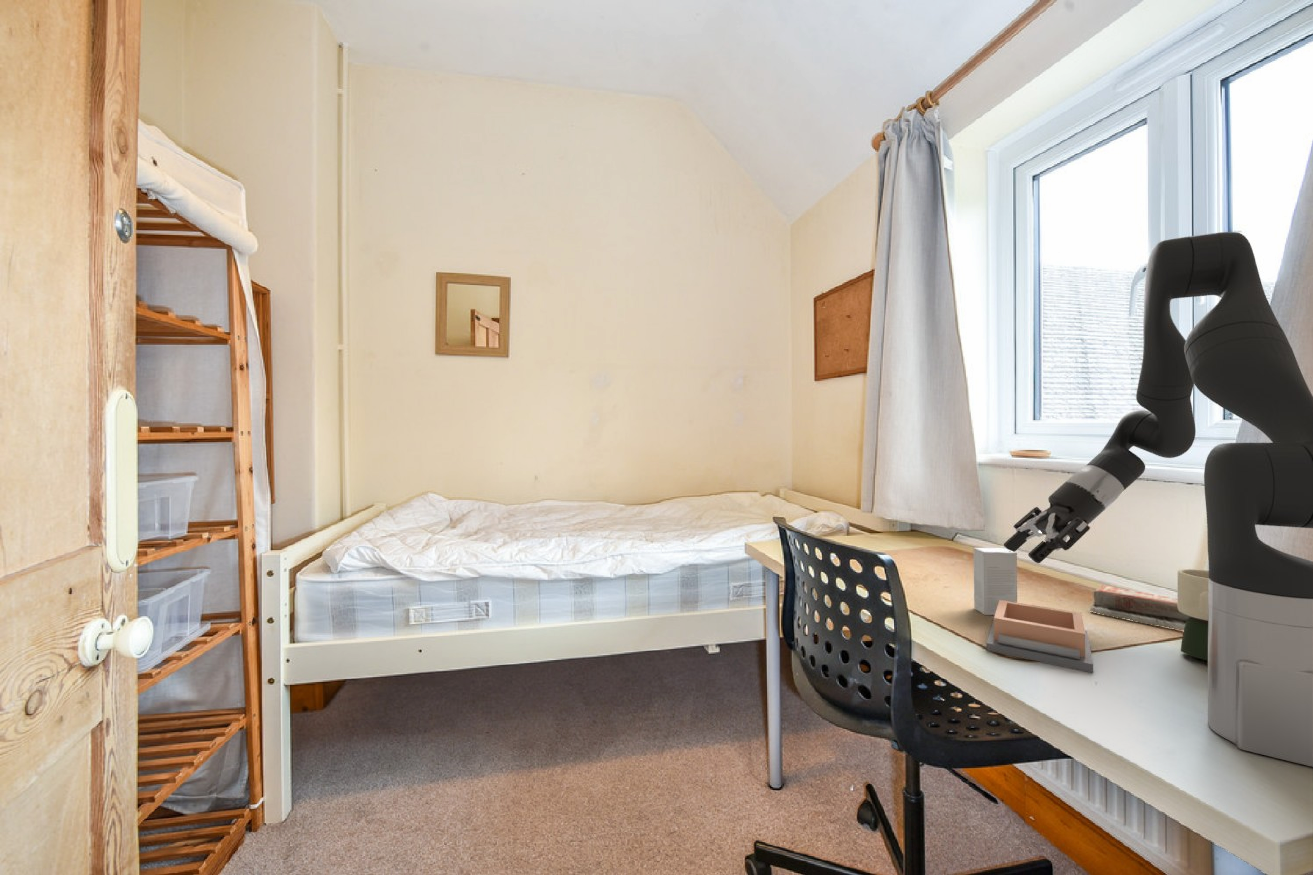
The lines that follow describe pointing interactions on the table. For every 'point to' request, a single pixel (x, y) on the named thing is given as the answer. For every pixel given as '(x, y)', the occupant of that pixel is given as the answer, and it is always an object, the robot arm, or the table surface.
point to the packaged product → (1138, 607)
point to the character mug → (1194, 611)
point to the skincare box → (994, 578)
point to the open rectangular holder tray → (1041, 635)
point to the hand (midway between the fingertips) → (1019, 554)
